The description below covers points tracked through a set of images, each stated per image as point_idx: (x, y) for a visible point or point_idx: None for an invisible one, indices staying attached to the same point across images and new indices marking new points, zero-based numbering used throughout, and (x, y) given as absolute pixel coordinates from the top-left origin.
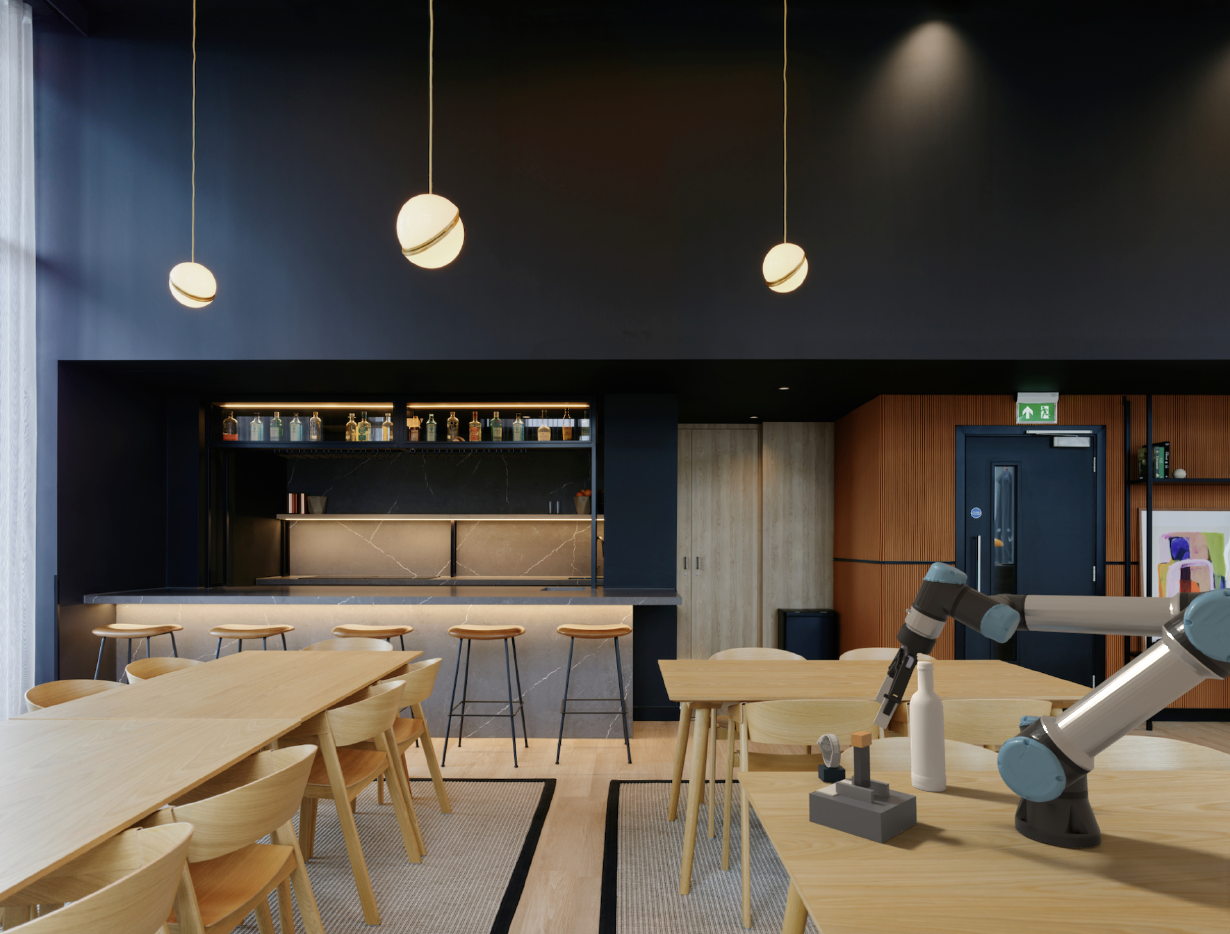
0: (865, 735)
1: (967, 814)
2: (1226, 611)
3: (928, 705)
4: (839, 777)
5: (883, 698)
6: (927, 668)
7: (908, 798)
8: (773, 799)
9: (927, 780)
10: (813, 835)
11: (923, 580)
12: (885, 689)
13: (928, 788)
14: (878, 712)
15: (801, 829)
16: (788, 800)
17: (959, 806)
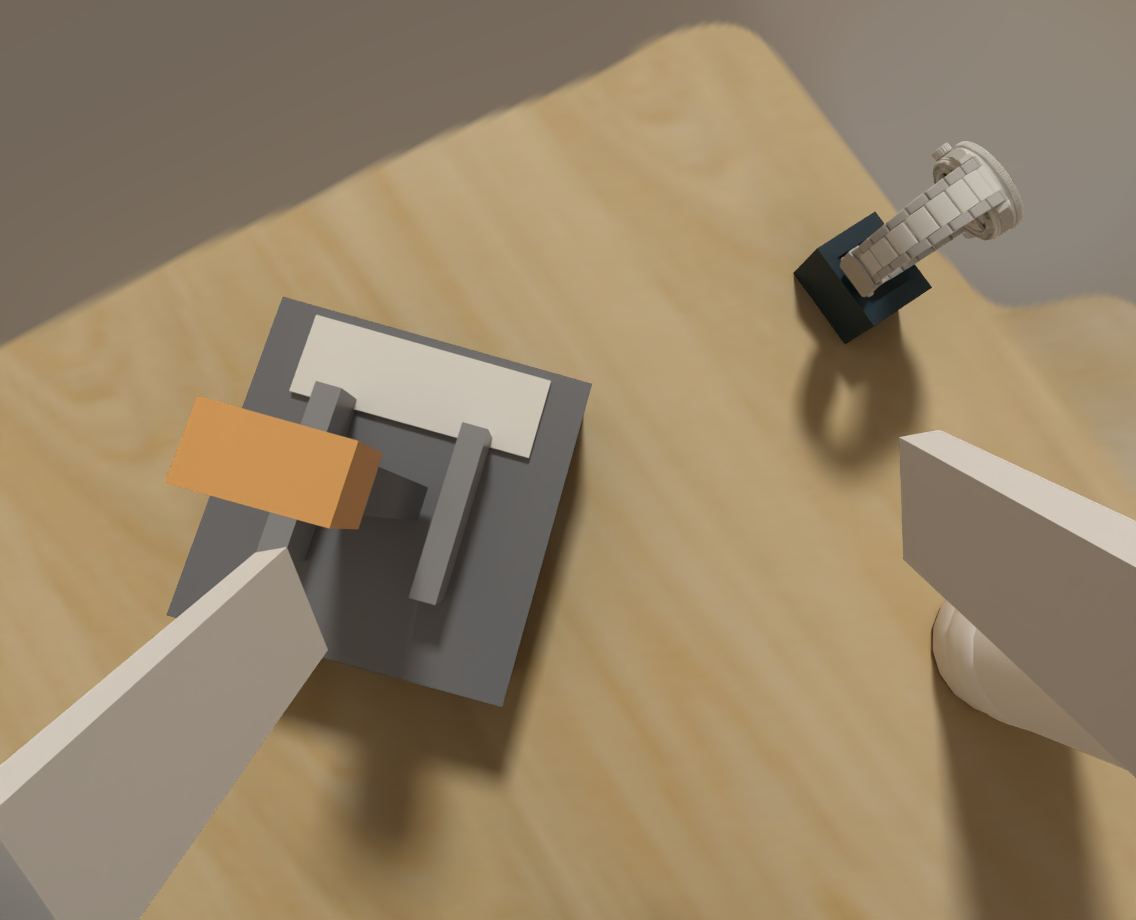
0: (233, 500)
1: (732, 835)
2: None
3: None
4: (840, 316)
5: (939, 538)
6: None
7: (445, 682)
8: (484, 169)
9: (961, 660)
10: (190, 382)
11: None
12: (1026, 578)
13: (939, 656)
14: (166, 627)
15: (227, 333)
16: (504, 216)
17: (814, 793)
